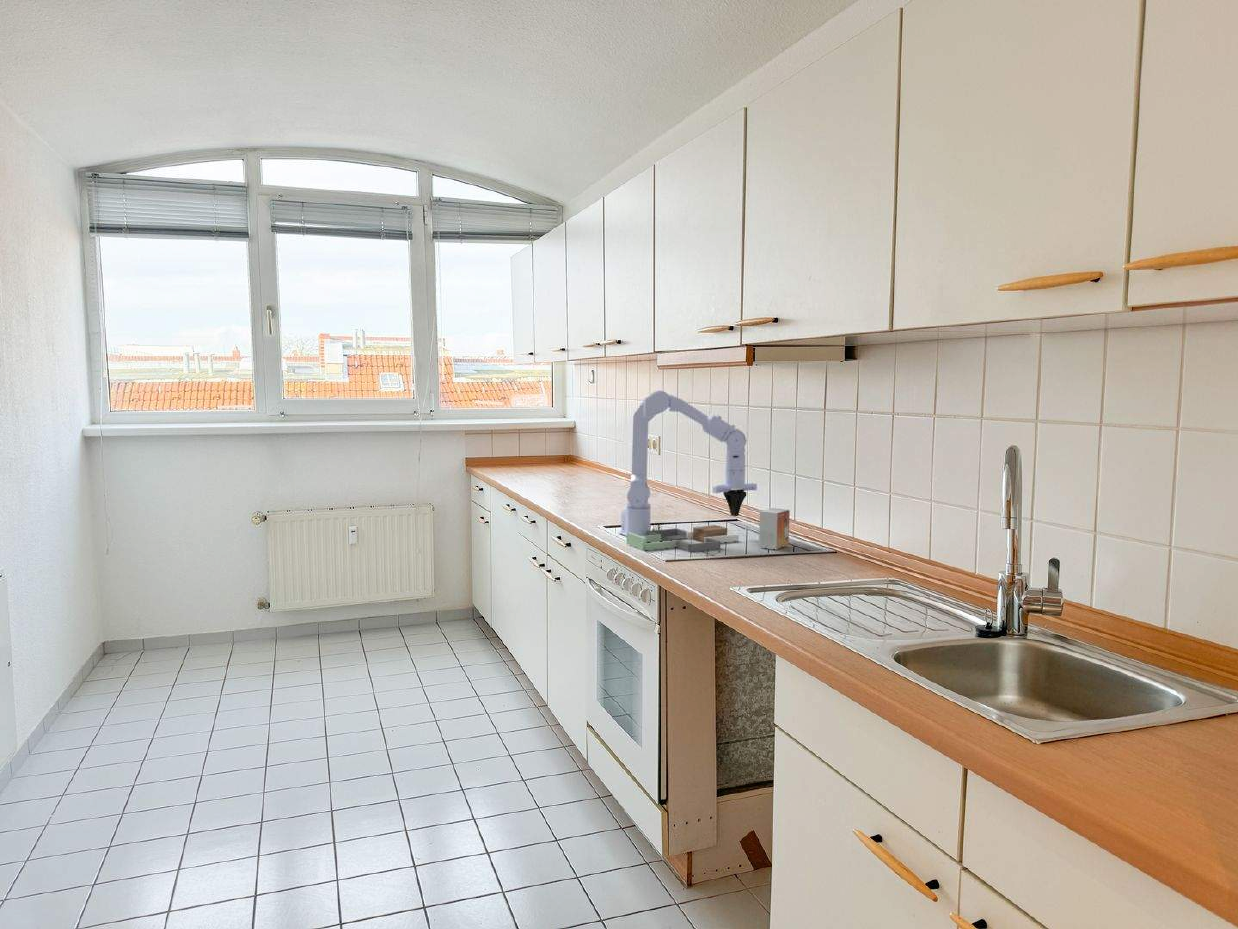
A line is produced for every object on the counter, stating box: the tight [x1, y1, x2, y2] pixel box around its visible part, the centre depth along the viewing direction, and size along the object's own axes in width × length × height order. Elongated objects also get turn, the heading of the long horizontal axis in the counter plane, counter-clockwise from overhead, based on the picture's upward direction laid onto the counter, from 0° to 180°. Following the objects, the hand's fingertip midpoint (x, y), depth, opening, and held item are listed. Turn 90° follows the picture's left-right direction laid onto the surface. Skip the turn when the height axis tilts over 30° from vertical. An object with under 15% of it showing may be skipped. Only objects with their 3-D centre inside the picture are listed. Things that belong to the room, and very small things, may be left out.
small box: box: [758, 507, 790, 551], centre depth 237 cm, size 8×6×10 cm
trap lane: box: [626, 527, 739, 553], centre depth 243 cm, size 23×32×4 cm
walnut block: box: [692, 524, 728, 543], centre depth 247 cm, size 6×8×4 cm
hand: (734, 515), depth 250 cm, fingers closed
